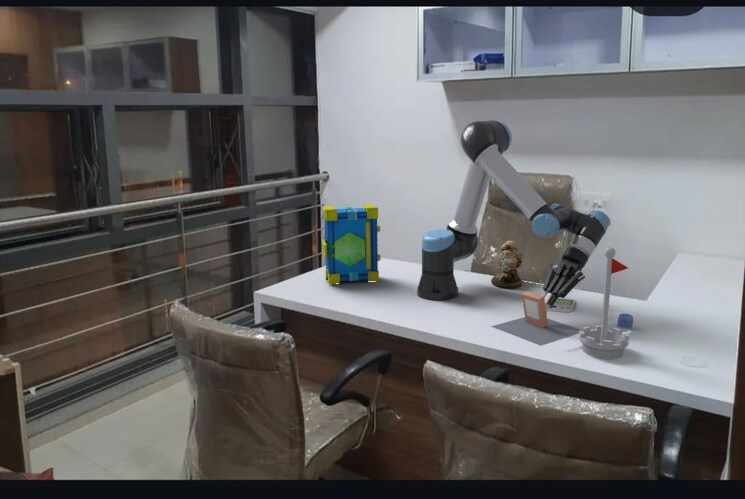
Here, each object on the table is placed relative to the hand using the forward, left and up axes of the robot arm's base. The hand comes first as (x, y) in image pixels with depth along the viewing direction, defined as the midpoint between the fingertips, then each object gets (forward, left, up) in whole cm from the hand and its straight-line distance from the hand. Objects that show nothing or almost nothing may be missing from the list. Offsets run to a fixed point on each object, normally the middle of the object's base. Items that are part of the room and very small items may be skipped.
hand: (541, 312), depth 197 cm
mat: (+3, -4, -4) cm, 7 cm away
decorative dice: (+17, +20, -5) cm, 26 cm away
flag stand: (+25, -2, -5) cm, 25 cm away
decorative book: (-80, -19, -5) cm, 83 cm away
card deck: (0, -1, -4) cm, 4 cm away
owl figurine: (-41, +27, -5) cm, 50 cm away
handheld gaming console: (-9, +20, -5) cm, 22 cm away
